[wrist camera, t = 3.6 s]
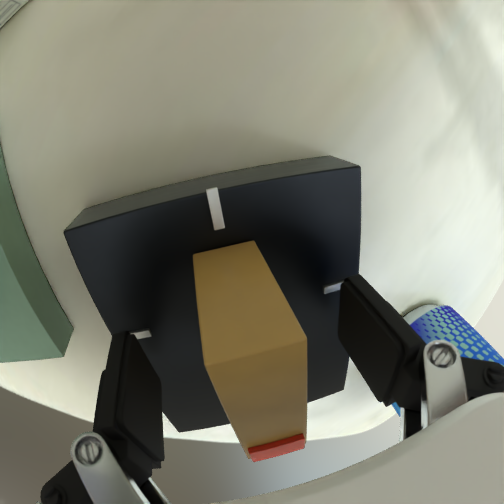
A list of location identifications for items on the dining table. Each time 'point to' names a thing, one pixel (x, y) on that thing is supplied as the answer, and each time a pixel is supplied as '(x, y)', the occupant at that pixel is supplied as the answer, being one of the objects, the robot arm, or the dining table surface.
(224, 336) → the tap handle
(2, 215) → the button block
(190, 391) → the base
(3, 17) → the cosmetic box
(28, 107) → the dining table surface
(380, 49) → the dining table surface
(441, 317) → the beer can
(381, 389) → the robot arm
